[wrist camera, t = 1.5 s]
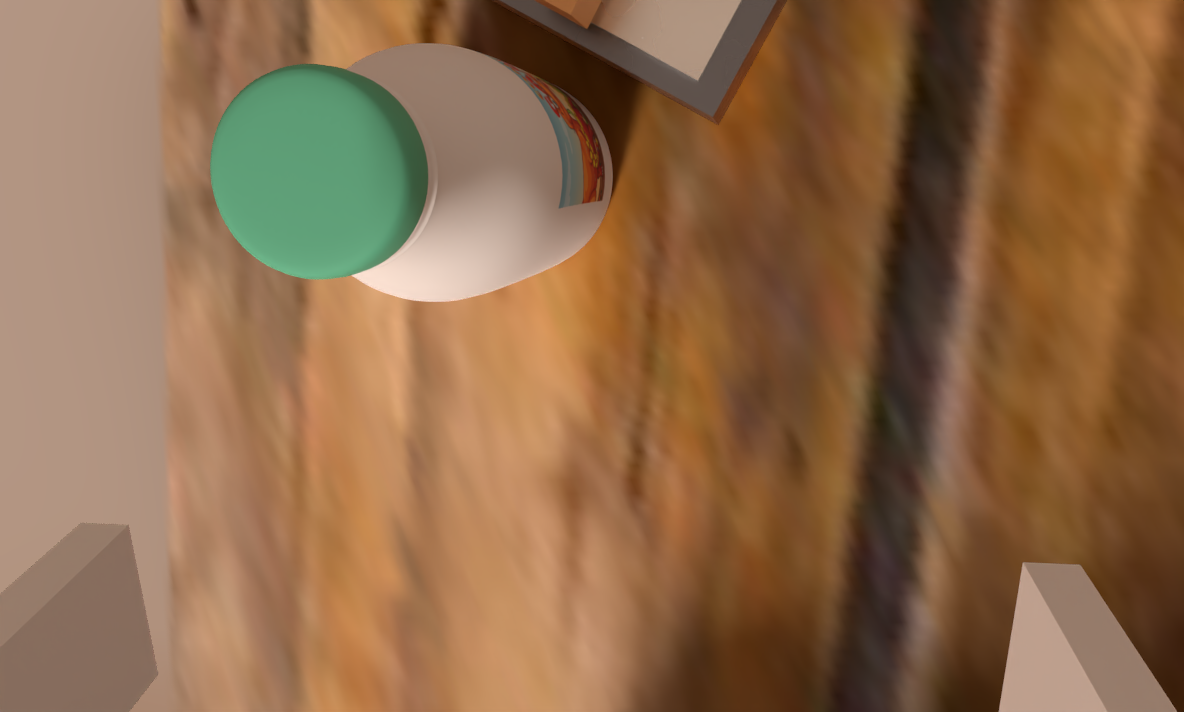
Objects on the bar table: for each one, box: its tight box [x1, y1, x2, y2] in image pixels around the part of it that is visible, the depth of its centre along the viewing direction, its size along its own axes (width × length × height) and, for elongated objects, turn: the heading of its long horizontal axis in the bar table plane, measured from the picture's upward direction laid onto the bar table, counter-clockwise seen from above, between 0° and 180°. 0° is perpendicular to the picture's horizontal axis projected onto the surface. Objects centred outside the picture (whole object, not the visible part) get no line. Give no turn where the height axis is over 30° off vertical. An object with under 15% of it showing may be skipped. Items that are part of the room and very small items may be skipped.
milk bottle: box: [210, 43, 613, 302], centre depth 31 cm, size 8×8×20 cm
